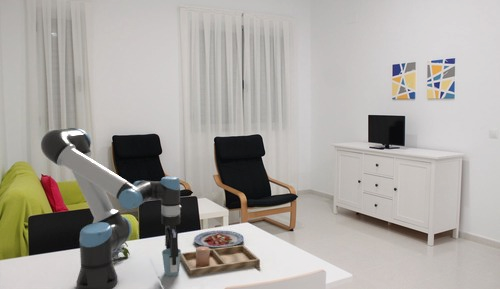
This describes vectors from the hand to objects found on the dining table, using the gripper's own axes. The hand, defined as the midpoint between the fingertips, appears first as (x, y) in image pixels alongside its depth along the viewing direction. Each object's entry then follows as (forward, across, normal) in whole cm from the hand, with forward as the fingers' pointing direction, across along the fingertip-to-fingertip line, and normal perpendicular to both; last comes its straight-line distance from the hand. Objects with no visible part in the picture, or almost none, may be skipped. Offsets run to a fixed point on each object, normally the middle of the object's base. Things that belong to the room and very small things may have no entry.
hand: (171, 268), depth 169 cm
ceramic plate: (+4, +33, -31) cm, 45 cm away
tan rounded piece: (+2, +4, -14) cm, 15 cm away
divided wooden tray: (+3, +4, -22) cm, 23 cm away
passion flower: (+3, +29, +21) cm, 36 cm away
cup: (+3, 0, 0) cm, 3 cm away
